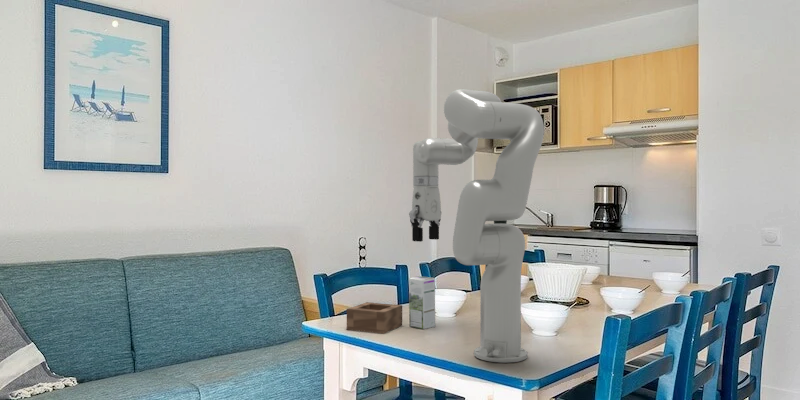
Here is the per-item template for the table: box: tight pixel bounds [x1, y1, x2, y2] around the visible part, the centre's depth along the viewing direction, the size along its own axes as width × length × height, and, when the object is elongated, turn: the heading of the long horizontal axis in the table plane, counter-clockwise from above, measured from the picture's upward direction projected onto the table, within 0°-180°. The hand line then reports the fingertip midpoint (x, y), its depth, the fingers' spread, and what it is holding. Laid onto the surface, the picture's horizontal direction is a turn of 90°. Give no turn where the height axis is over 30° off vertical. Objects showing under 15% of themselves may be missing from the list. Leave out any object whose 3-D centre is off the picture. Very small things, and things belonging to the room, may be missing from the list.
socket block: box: [346, 301, 403, 335], centre depth 174 cm, size 12×12×6 cm
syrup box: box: [408, 275, 436, 330], centre depth 175 cm, size 6×6×14 cm
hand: (425, 240), depth 177 cm, fingers open, 9 cm apart
